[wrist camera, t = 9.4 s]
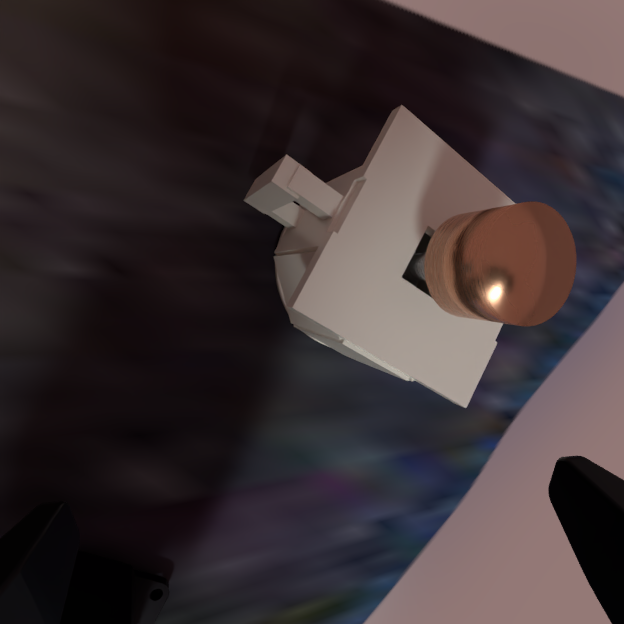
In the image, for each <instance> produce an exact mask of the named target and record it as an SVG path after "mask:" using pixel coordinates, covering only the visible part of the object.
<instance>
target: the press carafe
mask: <svg viewBox="0 0 624 624" xmlns="http://www.w3.org/2000/svg"><path fill="white" fill-rule="evenodd" d="M243 201H245V202H246V203H248V204H250V205H251V206H253V207H254V208H256V209H257V210H259V211H260V212H262V213H263V214H267V215H269V216H270V217H272V218H273V219H275V220H276V221H278V222H279V223H281V224H282V225H284V228H283V230H282V233H281V235H280V238H279V242H278V245H277V248H276V250H275V251H274V253H275V254H276V256H274V261H275V278H276V284H277V289H278V292H279V295H280V298H281V301H282V303H283V305H284V308H285V310H286V312H287V313H288V315H289V318H290V322H291V324H294V326H293V327H295V328H297V329H299V330H301V331H302V332H304V333H305V334H306V335H307V336H309V337H310V338H312V339H313V340H315V341H317V342H319V343H321V344H323V345H326V346H328V347H331V348H333V349H334V350H336V351H338V352H340V353H342V354H343V355H345V356H347V357H350V358H352V359H355V360H357V361H359V362H362V363H364V364H367V365H369V366H372V367H374V368H377V369H379V370H382V371H384V372H386V373H389V374H391V375H394V376H396V377H399V378H401V379H404V380H406V381H408V380H410V381H414V380H415V381H417V382H418V383H420V384H422V385H424V386H425V387H427V388H429V389H431V390H432V391H434V392H436V393H438V394H439V395H441V396H443V397H444V398H446V399H448V400H450V401H451V402H453V403H455V404H457V405H460V406H462V407H464V408H466V407H467V405H468V403H469V401H470V399H471V397H472V395H473V393H474V391H475V388H476V386H477V384H478V382H479V380H480V378H481V376H482V374H483V372H484V370H485V368H486V366H487V364H488V361H489V359H490V357H491V355H492V353H493V351H494V349H495V347H496V345H497V342H496V341H495V340H496V337H497V335H498V333H499V331H500V329H501V327H502V325H503V323H498V322H491V321H484V320H477V319H470V318H463V317H457V316H454V315H451V314H449V313H447V312H445V311H444V310H443V309H442V308H440V307H439V306H438V304H437V303H436V302H435V301H434V299H433V298H432V296H431V294H430V292H429V290H428V287H427V284H426V281H417V283H416V286H414V285H412V284H411V283H409V282H408V281H406V280H405V279H403V278H402V275H403V273H404V271H405V270H406V268H407V266H408V264H409V262H410V260H411V258H412V256H413V254H414V252H415V250H417V253H424V252H426V250H427V247H428V244H429V242H430V239H431V237H432V236H433V234H434V232H435V231H436V230H437V229H438V227H439V226H440V225H441V224H442V223H443V222H445V221H446V220H447V219H449V218H451V217H453V216H455V215H458V214H463V213H469V212H474V211H480V210H485V209H491V208H496V207H502V206H507V205H513V204H515V203H514V202H513V201H512V200H511V199H510V198H508V197H507V196H506V195H505V194H504V193H503V192H502V191H500V190H499V189H498V188H497V187H496V186H495V185H493V184H492V183H491V182H490V181H489V180H488V179H487V178H485V177H484V176H483V175H482V174H481V173H480V172H479V171H477V170H476V169H475V168H474V167H473V166H472V165H471V164H469V163H468V162H467V161H466V160H465V159H464V158H463V157H461V156H460V155H459V154H458V153H457V152H456V151H454V150H453V149H452V148H451V147H450V146H449V145H448V144H446V143H445V142H444V141H443V140H442V139H441V138H440V137H438V136H437V135H436V134H435V133H434V132H433V131H432V130H430V129H429V128H428V127H427V126H426V125H425V124H424V123H422V122H421V121H420V120H419V119H418V118H417V117H416V116H414V115H413V114H412V113H411V112H410V111H409V110H407V109H406V108H405V107H404V106H403V105H401V106H399V107H397V108H396V109H394V110H393V111H392V112H391V114H390V116H389V117H388V119H387V121H386V123H385V125H384V127H383V128H382V130H381V132H380V134H379V136H378V138H377V140H376V141H375V143H374V145H373V147H372V149H371V151H370V152H369V154H368V156H367V158H366V160H365V162H364V164H363V165H362V166H360V167H358V168H356V169H354V170H352V171H350V172H348V173H346V174H343V175H341V176H339V177H337V178H335V179H333V180H331V181H329V182H327V183H324V182H323V181H321V180H320V179H319V178H317V177H316V176H315V175H313V174H312V173H311V172H310V171H309V170H307V169H306V168H305V167H303V166H302V165H300V164H299V163H298V162H296V161H295V160H294V159H292V158H291V157H289V156H288V155H287V154H286V155H285V156H284V157H283V158H281V159H280V160H279V161H278V162H276V163H275V164H274V165H273V166H271V167H270V168H269V169H268V170H266V171H265V172H264V173H263V174H261V175H260V176H259V177H258V178H256V179H255V181H254V183H253V185H252V186H251V188H250V190H249V192H248V193H247V195H246V197H245V199H244V200H243ZM293 201H296V202H297V203H299V204H300V205H299V206H298V205H296V204H295V203H294V202H293Z"/></svg>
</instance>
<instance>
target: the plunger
mask: <svg viewBox="0 0 624 624" xmlns="http://www.w3.org/2000/svg"><path fill="white" fill-rule="evenodd" d="M575 272H576V249H575V244H574V240H573V236H572V234H571V231H570V229H569V227H568V225H567V223H566V222H565V220H564V219H563V217H562V216H561V215H560V214H559V213H558V212H557V211H556V210H554V209H553V208H552V207H550V206H548V205H546V204H543V203H540V202H524V203H518V204H513V205H507V206H502V207H496V208H491V209H485V210H480V211H474V212H469V213H463V214H458V215H455V216H453V217H451V218H449V219H447V220H446V221H445V222H443V223H442V224H441V225H440V226H439V227H438V229H437V230H436V231H435V232H434V234H433V236H432V237H431V239H430V242H429V244H428V247H427V250H426V252H424V253H417V250H415V252H414V254H413V256H412V258H411V260H410V262H409V264H408V266H407V268H406V270H405V271H404V273H403V275H402V278H403V279H405V280H406V281H408V282H409V283H411V284H412V285H414V286H416V283H417V281H426V284H427V287H428V290H429V292H430V294H431V296H432V298H433V299H434V301H435V302H436V303H437V304H438V306H439V307H440V308H442V309H443V310H444V311H445V312H447V313H449V314H451V315H454V316H457V317H463V318H470V319H477V320H484V321H491V322H498V323H505V324H512V325H520V326H534V325H538V324H541V323H543V322H545V321H547V320H548V319H550V318H551V317H552V316H553V315H555V314H556V313H557V312H558V311H559V309H560V308H561V307H562V306H563V304H564V303H565V301H566V299H567V297H568V295H569V293H570V291H571V288H572V285H573V282H574V277H575Z"/></svg>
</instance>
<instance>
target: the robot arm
mask: <svg viewBox="0 0 624 624" xmlns="http://www.w3.org/2000/svg"><path fill="white" fill-rule="evenodd" d="M549 497H550V501H551V503H552V505H553V507H554V510H555V512H556V514H557V516H558V518H559V520H560V522H561V525H562V527H563V529H564V531H565V533H566V535H567V537H568V540H569V542H570V544H571V546H572V549H573V551H574V553H575V555H576V557H577V559H578V562H579V564H580V566H581V568H582V570H583V572H584V574H585V576H586V578H587V580H588V582H589V584H590V586H591V588H592V589H593V591H594V593H595V595H596V597H597V599H598V600H599V602H600V604H601V606H602V607H603V609H604V611H605V612H606V614H607V616H608V618H609V619H610V621H611V623H612V624H624V480H623V479H621V478H619V477H617V476H616V475H614V474H612V473H611V472H609V471H607V470H605V469H604V468H602V467H600V466H598V465H597V464H595V463H593V462H592V461H590V460H588V459H587V458H585V457H582V456H569V457H561V458H559V459H558V460H557V462H556V465H555V468H554V471H553V475H552V478H551V481H550V484H549ZM79 541H80V536H79V530H78V528H77V525H76V522H75V520H74V517H73V514H72V512H71V509H70V506H69V504H68V503H66V502H64V501H59V502H47V503H42V504H40V505H38V506H37V507H35V508H34V509H33V510H32V511H31V512H30V513H29V514H28V515H26V516H25V517H24V518H23V519H22V520H21V521H20V522H19V523H17V524H16V525H15V526H14V527H13V528H12V529H11V530H9V531H8V532H7V533H6V534H5V535H4V536H3V537H2V538H0V624H154V622H155V621H156V619H157V617H158V615H159V613H160V611H161V609H162V607H163V606H164V604H165V602H166V600H167V598H168V595H169V586H168V582H167V580H166V579H165V578H163V577H160V576H156V575H153V574H149V573H145V572H142V571H138V570H135V569H133V567H132V566H131V565H129V564H125V563H122V562H118V561H114V560H111V559H107V558H104V557H100V556H97V555H93V554H90V553H86V552H82V551H79V550H78V547H79ZM155 589H161V591H160V593H158V594H152V593H151V592H152V591H153V590H155Z"/></svg>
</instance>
